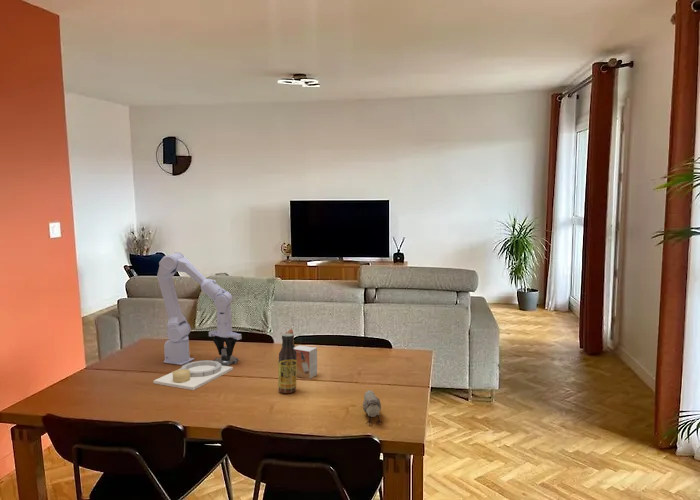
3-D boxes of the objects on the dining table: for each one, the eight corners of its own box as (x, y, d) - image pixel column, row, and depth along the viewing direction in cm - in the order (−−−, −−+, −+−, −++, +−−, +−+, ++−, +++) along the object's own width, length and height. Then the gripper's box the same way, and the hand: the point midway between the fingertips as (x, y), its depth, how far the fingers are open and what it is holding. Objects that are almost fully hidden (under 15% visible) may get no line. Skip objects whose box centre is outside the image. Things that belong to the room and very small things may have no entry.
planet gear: (208, 364, 214) (208, 349, 213) (223, 357, 223) (222, 343, 222) (228, 367, 210) (228, 352, 209) (242, 359, 219) (242, 345, 218)
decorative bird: (377, 404, 172) (377, 382, 171) (383, 426, 156) (383, 402, 156) (360, 405, 172) (360, 382, 171) (365, 427, 156) (365, 402, 155)
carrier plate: (153, 383, 193) (152, 372, 193) (195, 364, 214) (195, 354, 214) (193, 390, 186) (193, 379, 186) (232, 369, 207) (232, 359, 207)
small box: (291, 376, 199) (290, 348, 198) (299, 371, 204) (299, 344, 203) (309, 379, 196) (309, 351, 194) (317, 374, 201) (317, 347, 199)
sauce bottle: (279, 395, 181) (278, 337, 178) (277, 388, 187) (275, 333, 184) (298, 393, 182) (297, 336, 180) (295, 386, 188) (294, 331, 186)
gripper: (245, 321, 215) (246, 354, 217) (215, 318, 221) (217, 350, 223) (235, 325, 209) (236, 359, 210) (204, 322, 215) (206, 355, 216)
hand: (225, 355), depth 216 cm, fingers closed on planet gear, 4 cm apart
